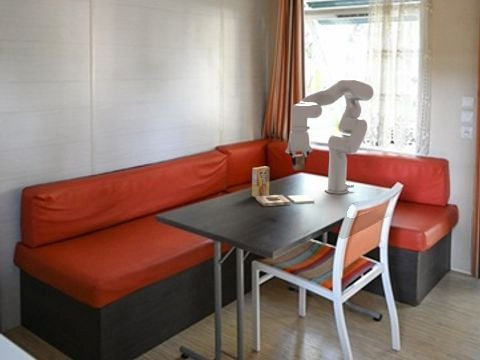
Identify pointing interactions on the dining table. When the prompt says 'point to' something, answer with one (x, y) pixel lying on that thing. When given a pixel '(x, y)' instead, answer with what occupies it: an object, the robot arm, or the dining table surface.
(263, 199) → the pocket plate
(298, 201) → the board
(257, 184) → the candy box
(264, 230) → the dining table surface
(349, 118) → the robot arm
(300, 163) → the walnut block
